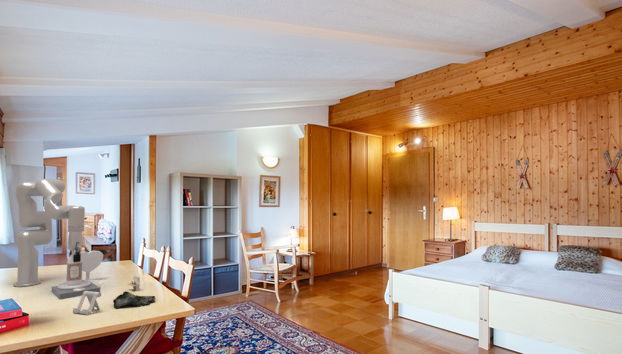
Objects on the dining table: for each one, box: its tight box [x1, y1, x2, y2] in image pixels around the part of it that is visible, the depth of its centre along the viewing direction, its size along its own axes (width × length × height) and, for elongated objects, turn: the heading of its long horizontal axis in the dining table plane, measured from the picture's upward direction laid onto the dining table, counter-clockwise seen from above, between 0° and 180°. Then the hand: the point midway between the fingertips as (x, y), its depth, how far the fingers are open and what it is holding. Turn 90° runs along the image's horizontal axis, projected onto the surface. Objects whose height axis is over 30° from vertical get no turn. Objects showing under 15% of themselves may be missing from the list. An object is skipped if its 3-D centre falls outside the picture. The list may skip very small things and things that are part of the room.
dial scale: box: [51, 280, 101, 300], centre depth 197 cm, size 22×18×4 cm
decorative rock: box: [112, 291, 156, 310], centre depth 175 cm, size 19×6×15 cm
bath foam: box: [66, 250, 83, 285], centre depth 199 cm, size 7×7×20 cm
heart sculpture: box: [81, 250, 104, 283], centre depth 222 cm, size 16×5×18 cm, turn 128°
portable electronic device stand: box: [72, 291, 102, 316], centre depth 162 cm, size 9×8×8 cm
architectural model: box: [126, 276, 141, 292], centre depth 200 cm, size 3×7×7 cm, turn 51°
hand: (74, 260), depth 199 cm, fingers open, 9 cm apart
